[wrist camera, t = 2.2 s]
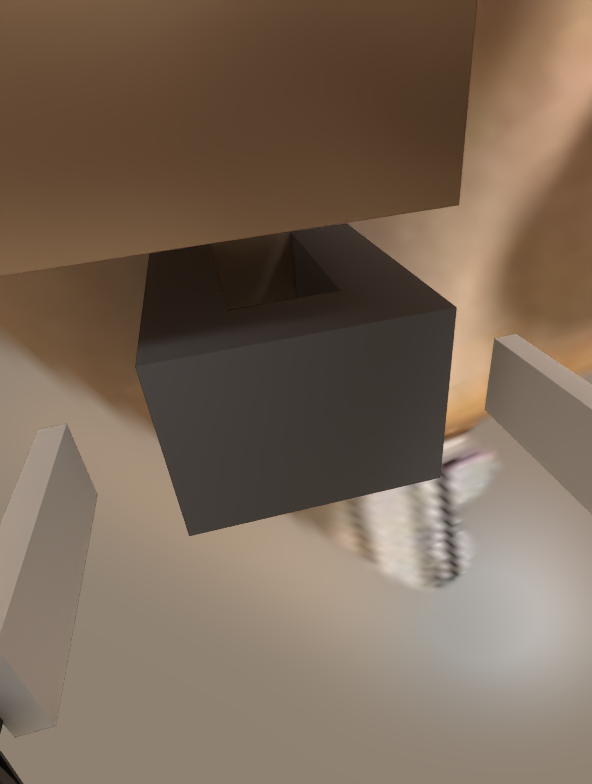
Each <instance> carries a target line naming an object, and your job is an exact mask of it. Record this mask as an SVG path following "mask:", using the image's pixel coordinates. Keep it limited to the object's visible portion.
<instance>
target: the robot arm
mask: <svg viewBox="0 0 592 784" xmlns="http://www.w3.org/2000/svg"><path fill="white" fill-rule="evenodd" d="M485 410H486V411H487V412H488V413H489V414H490V415H491V416H492V417H493V418H494V419H495V420H496V421H497V422H498V423H499V424H500V425H501V426H502V427H503V428H504V429H505V430H506V431H507V432H508V433H509V434H510V435H511V436H512V437H513V438H514V439H515V440H516V441H517V442H518V443H520V444H521V446H523V447H524V448H525V449H526V450H527V451H528V452H529V453H530V454H531V455H532V456H533V457H534V458H535V459H536V460H537V461H538V462H539V463H540V464H541V465H542V466H543V467H544V468H545V469H546V470H547V471H548V472H549V473H550V474H551V475H552V476H553V477H554V478H555V479H556V480H557V481H558V482H559V483H560V484H561V485H562V486H563V487H564V488H565V489H566V490H567V491H568V492H570V494H572V495H573V496H574V497H575V498H576V499H577V500H578V501H579V502H580V503H581V504H582V505H583V506H584V507H585V508H586V509H587V510H588V511H589V512H590V513H591V514H592V384H590V383H589V382H587V381H586V380H584V379H583V378H581V377H580V376H578V375H577V374H575V373H574V372H572V371H571V370H569V369H568V368H566V367H565V366H563V365H562V364H560V363H559V362H557V361H556V360H554V359H553V358H552V357H550V356H549V355H547V354H546V353H544V352H543V351H541V350H540V349H538V348H537V347H535V346H534V345H532V344H531V343H529V342H528V341H526V340H525V339H523V338H522V337H520V336H519V335H517V334H513V335H508V336H503V337H498V338H494V345H493V352H492V360H491V367H490V374H489V382H488V389H487V396H486V403H485ZM96 501H97V493H96V490H95V488H94V486H93V483H92V481H91V479H90V476H89V474H88V472H87V469H86V467H85V465H84V463H83V460H82V458H81V456H80V453H79V451H78V449H77V446H76V444H75V442H74V440H73V437H72V435H71V433H70V430H69V428H68V426H67V424H62V425H57V426H52V427H47V428H42V429H38V431H37V433H36V436H35V438H34V441H33V443H32V446H31V448H30V451H29V453H28V456H27V459H26V461H25V464H24V466H23V469H22V471H21V474H20V476H19V479H18V481H17V484H16V486H15V489H14V491H13V494H12V496H11V499H10V501H9V504H8V507H7V509H6V511H5V514H4V516H3V519H2V522H1V525H0V732H1V728H2V725H3V724H4V725H5V726H6V728H7V729H8V730H9V731H10V732H11V733H12V735H13V736H14V737H18V736H22V735H26V734H29V733H32V732H36V731H40V730H43V729H47V728H50V727H54V726H56V723H57V718H58V712H59V706H60V701H61V696H62V690H63V684H64V679H65V673H66V668H67V662H68V656H69V651H70V645H71V640H72V634H73V629H74V623H75V618H76V612H77V606H78V601H79V595H80V590H81V584H82V579H83V573H84V568H85V562H86V556H87V551H88V545H89V540H90V534H91V529H92V523H93V517H94V512H95V506H96ZM0 784H23V782H22V781H21V779H20V778H19V777H18V775H17V774H16V772H15V771H14V769H13V768H12V766H11V765H10V764H9V762H8V761H7V759H6V758H5V756H4V755H3V753H2V752H1V751H0Z"/></svg>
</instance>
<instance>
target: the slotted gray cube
mask: <svg viewBox="0 0 592 784" xmlns="http://www.w3.org/2000/svg"><path fill="white" fill-rule="evenodd" d="M291 235H292V245H293V255H294V266H295V276H296V287H297V297H298V298H296V299H291V300H285V301H279V302H273V303H268V304H262V305H256V306H250V307H245V308H239V309H233V310H227V311H226V309H225V305H224V301H223V297H222V293H221V289H220V285H219V281H218V277H217V273H216V269H215V265H214V261H213V257H212V253H211V249H210V245H207V246H200V247H194V248H187V249H181V250H175V251H168V252H162V253H155V254H149V262H148V270H147V278H146V286H145V294H144V301H143V309H142V317H141V325H140V333H139V341H138V349H137V357H136V365H135V367H136V370H137V374H138V377H139V380H140V383H141V386H142V389H143V392H144V396H145V399H146V402H147V405H148V408H149V411H150V414H151V418H152V421H153V424H154V427H155V430H156V433H157V436H158V440H159V443H160V446H161V449H162V452H163V455H164V458H165V461H166V465H167V468H168V471H169V474H170V477H171V480H172V483H173V487H174V490H175V493H176V496H177V499H178V502H179V505H180V509H181V511H182V515H183V518H184V521H185V524H186V527H187V530H188V533H189V536H192V535H196V534H200V533H205V532H209V531H213V530H218V529H222V528H226V527H231V526H235V525H239V524H243V523H248V522H252V521H256V520H261V519H265V518H269V517H273V516H278V515H282V514H286V513H291V512H295V511H299V510H303V509H308V508H312V507H316V506H321V505H325V504H329V503H333V502H338V501H342V500H346V499H351V498H355V497H359V496H363V495H368V494H372V493H376V492H381V491H385V490H389V489H394V488H398V487H402V486H406V485H411V484H415V483H419V482H424V481H428V480H432V479H436V478H440V475H441V464H442V454H443V443H444V433H445V423H446V412H447V402H448V391H449V381H450V370H451V360H452V350H453V339H454V329H455V318H456V308H457V307H455V306H454V305H453V304H451V303H450V302H449V301H448V300H446V299H445V298H444V297H442V296H441V295H440V294H438V293H437V292H436V291H434V290H433V289H432V288H430V287H429V286H428V285H427V284H425V283H424V282H423V281H421V280H420V279H419V278H417V277H416V276H415V275H413V274H412V273H411V272H409V271H408V270H407V269H406V268H404V267H403V266H402V265H400V264H399V263H398V262H396V261H395V260H394V259H392V258H391V257H390V256H388V255H387V254H386V253H385V252H383V251H382V250H381V249H379V248H378V247H377V246H375V245H374V244H373V243H371V242H370V241H369V240H367V239H366V238H365V237H364V236H362V235H361V234H360V233H358V232H357V231H356V230H354V229H353V228H352V227H350V226H349V225H348V224H342V225H336V226H329V227H323V228H317V229H310V230H304V231H297V232H291Z"/></svg>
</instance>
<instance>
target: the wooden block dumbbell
mask: <svg viewBox="0 0 592 784" xmlns="http://www.w3.org/2000/svg"><path fill="white" fill-rule="evenodd" d="M476 5H477V0H0V276H4V275H10V274H17V273H23V272H30V271H36V270H43V269H49V268H56V267H62V266H69V265H75V264H82V263H88V262H94V261H101V260H107V259H114V258H120V257H127V256H133V255H140V254H146V253H153V252H159V251H166V250H172V249H179V248H185V247H191V246H198V245H204V244H211V243H217V242H224V241H230V240H237V239H243V238H250V237H256V236H263V235H269V234H276V233H282V232H289V231H295V230H301V229H308V228H314V227H321V226H327V225H334V224H340V223H347V222H353V221H360V220H366V219H373V218H379V217H386V216H392V215H398V214H405V213H411V212H418V211H424V210H431V209H437V208H444V207H450V206H457V205H459V199H460V187H461V176H462V164H463V153H464V142H465V130H466V119H467V108H468V96H469V85H470V73H471V62H472V51H473V39H474V28H475V17H476Z"/></svg>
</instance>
